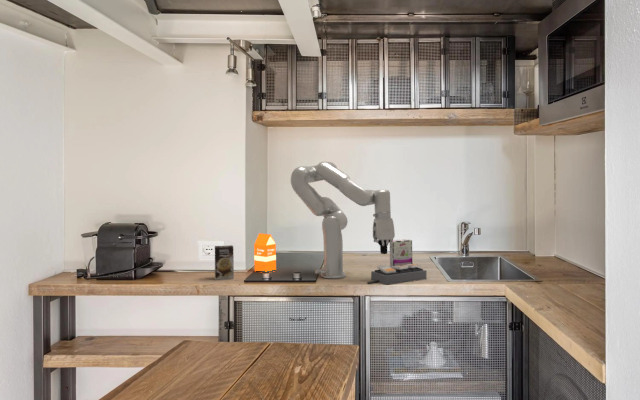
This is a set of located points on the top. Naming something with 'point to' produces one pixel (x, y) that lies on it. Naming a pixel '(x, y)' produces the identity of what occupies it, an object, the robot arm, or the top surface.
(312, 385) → the top surface
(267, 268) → the orange juice
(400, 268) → the rocker middle
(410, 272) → the power strip
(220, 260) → the coffee box
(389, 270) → the rocker left
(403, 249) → the candy bar box
